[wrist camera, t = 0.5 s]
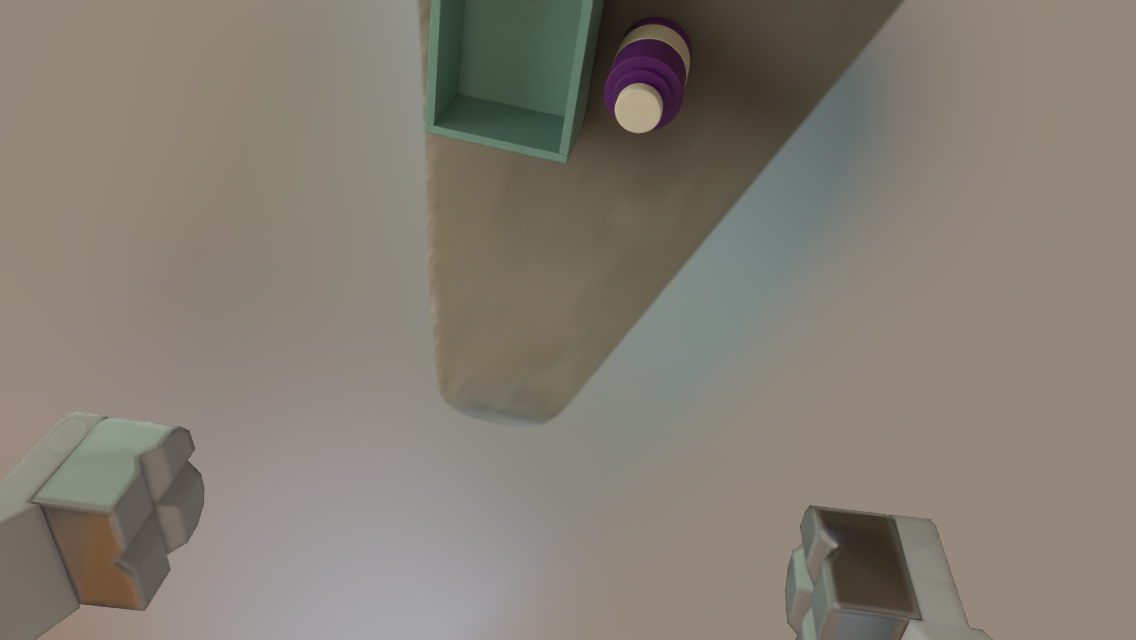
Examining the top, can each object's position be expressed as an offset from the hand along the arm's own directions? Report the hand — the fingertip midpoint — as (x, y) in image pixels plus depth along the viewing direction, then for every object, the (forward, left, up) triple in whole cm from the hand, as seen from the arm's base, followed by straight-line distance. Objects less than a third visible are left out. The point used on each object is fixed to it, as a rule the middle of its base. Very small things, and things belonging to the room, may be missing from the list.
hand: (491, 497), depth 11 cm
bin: (+8, -7, -38) cm, 40 cm away
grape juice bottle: (+8, 0, -38) cm, 39 cm away
